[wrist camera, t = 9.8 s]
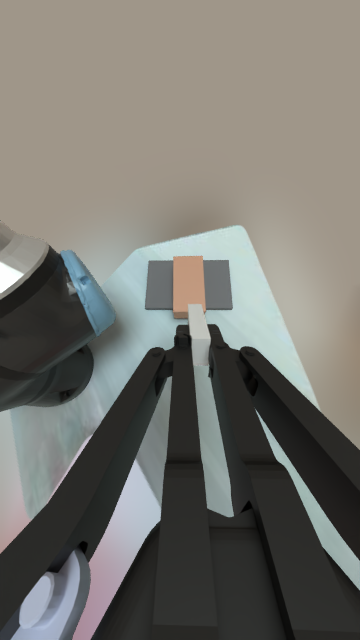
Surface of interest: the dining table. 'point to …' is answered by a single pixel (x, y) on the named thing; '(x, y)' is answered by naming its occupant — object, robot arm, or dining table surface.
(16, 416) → the dining table surface
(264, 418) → the robot arm
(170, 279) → the rubber mat
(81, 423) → the dining table surface
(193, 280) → the tall block
